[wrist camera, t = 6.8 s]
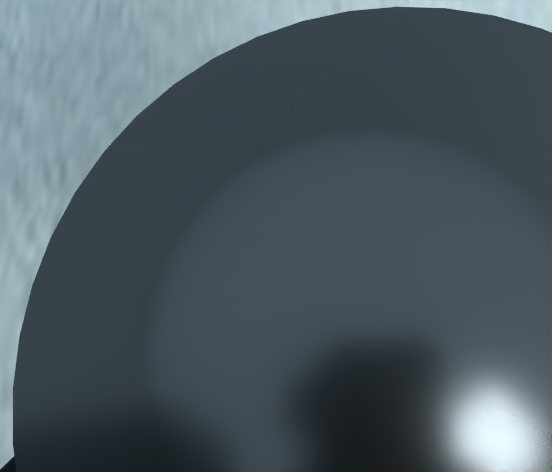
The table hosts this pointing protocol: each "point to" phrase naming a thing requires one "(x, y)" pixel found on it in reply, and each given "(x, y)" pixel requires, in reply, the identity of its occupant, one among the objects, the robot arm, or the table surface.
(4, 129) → the table surface
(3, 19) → the table surface
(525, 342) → the brass pin
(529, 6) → the table surface
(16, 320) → the table surface
